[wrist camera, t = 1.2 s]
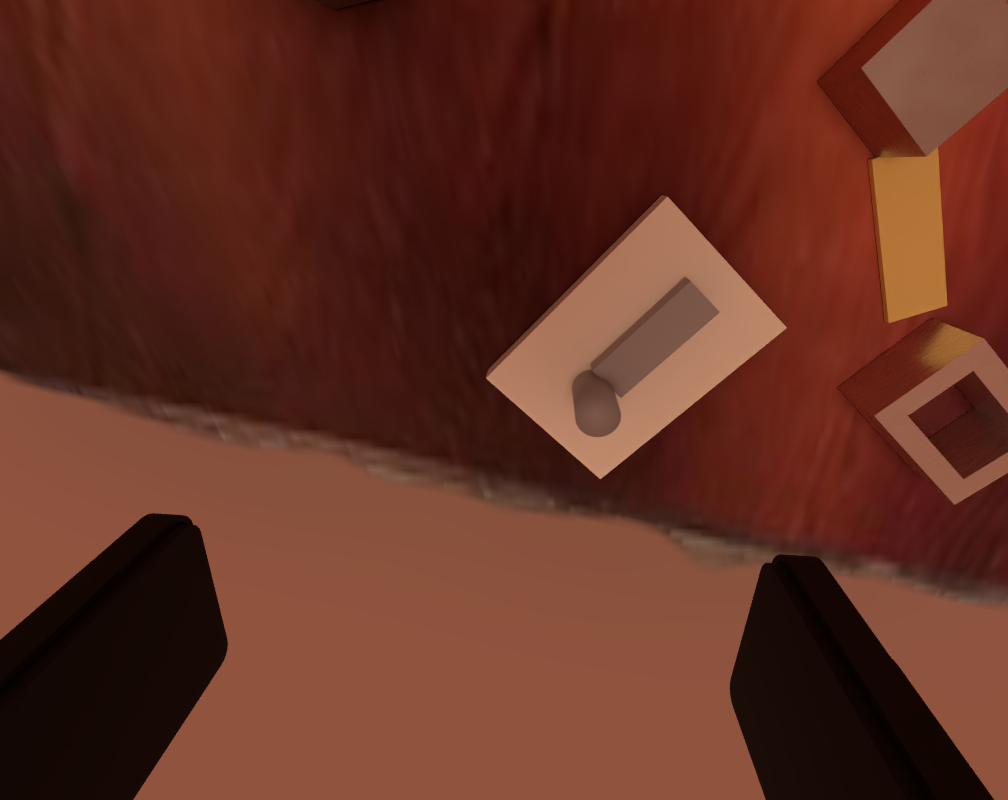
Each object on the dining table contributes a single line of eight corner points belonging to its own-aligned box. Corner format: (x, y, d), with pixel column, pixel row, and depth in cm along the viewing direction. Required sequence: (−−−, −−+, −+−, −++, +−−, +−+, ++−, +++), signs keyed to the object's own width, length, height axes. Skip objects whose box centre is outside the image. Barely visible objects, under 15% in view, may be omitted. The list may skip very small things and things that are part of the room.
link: (931, 317, 30) (984, 338, 27) (1004, 407, 32) (1063, 439, 28) (837, 387, 32) (874, 415, 29) (910, 468, 34) (954, 504, 30)
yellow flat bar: (867, 160, 27) (871, 159, 27) (931, 136, 27) (937, 136, 26) (884, 321, 30) (888, 323, 30) (942, 303, 30) (947, 305, 29)
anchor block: (912, -12, 24) (977, -43, 21) (971, 73, 25) (1042, 58, 22) (816, 81, 26) (861, 68, 22) (875, 157, 27) (926, 156, 24)
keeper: (661, 195, 29) (686, 201, 24) (776, 320, 31) (820, 350, 26) (488, 369, 33) (478, 405, 28) (598, 467, 36) (606, 516, 31)
